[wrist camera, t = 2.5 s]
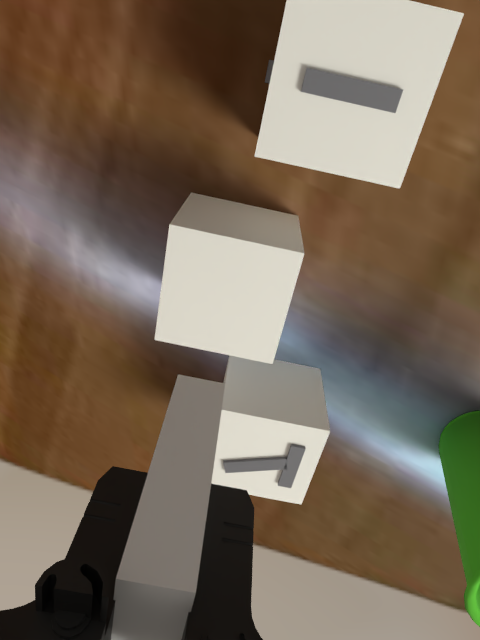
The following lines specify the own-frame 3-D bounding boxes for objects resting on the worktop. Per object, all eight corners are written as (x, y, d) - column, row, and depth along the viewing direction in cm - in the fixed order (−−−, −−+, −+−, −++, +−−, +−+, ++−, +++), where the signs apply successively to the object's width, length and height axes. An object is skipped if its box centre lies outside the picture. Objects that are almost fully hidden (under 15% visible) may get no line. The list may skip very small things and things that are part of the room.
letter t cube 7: (227, 349, 30) (217, 411, 24) (320, 368, 30) (330, 433, 25) (212, 418, 33) (200, 487, 27) (296, 435, 33) (301, 507, 27)
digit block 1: (283, -4, 21) (286, -30, 15) (415, 28, 21) (466, 12, 15) (254, 136, 23) (249, 156, 18) (371, 162, 24) (401, 189, 18)
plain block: (191, 192, 25) (169, 224, 20) (298, 215, 25) (304, 253, 20) (176, 289, 28) (154, 339, 23) (272, 309, 28) (272, 364, 23)
